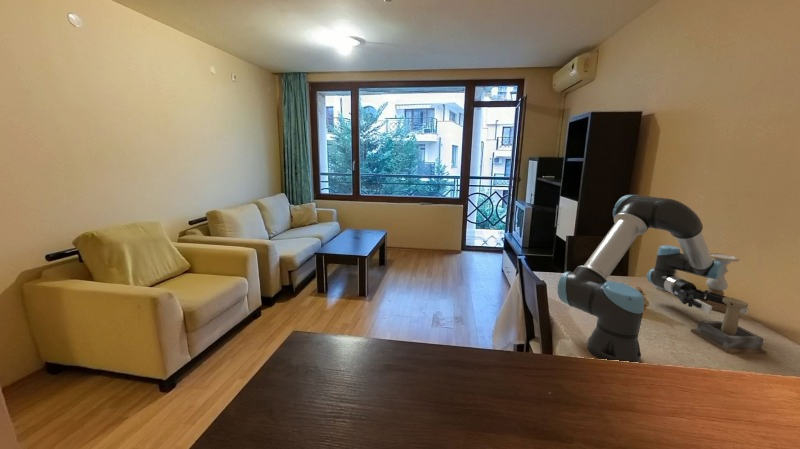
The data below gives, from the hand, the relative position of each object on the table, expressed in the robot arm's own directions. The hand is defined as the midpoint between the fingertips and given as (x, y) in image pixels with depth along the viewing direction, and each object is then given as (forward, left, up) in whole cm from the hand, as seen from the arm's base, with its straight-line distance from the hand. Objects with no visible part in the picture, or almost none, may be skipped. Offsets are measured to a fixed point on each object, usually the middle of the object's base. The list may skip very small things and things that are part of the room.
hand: (729, 310), depth 121 cm
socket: (-1, -2, -11) cm, 11 cm away
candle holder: (+23, +29, -11) cm, 39 cm away
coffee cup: (+16, +49, -11) cm, 53 cm away
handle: (-1, -2, -10) cm, 11 cm away
